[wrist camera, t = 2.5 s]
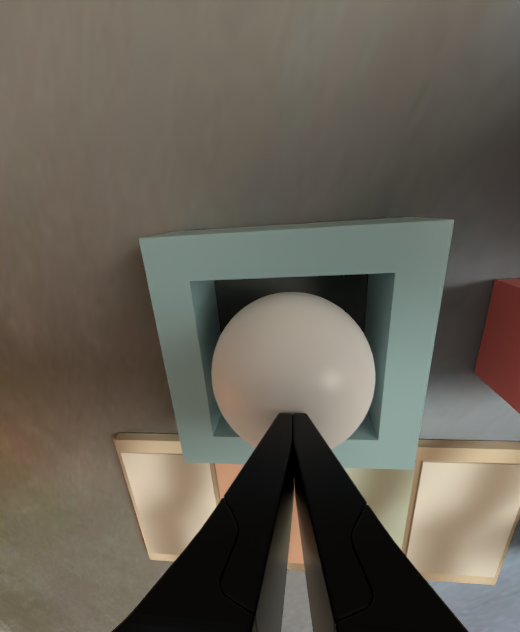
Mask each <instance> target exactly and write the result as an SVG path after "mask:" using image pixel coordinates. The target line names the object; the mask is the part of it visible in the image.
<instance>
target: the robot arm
mask: <svg viewBox="0 0 520 632" xmlns="http://www.w3.org/2000/svg"><path fill="white" fill-rule="evenodd" d="M294 487H295V499H296V507H297V515H298V522H299V530H300V537H301V545H302V552H303V560H304V567H305V574H306V582H307V589H308V597H309V604H310V612H311V619H312V626H313V632H468V630H467V629H466V628H465V627H464V626H463V624H462V623H461V622H460V621H459V620H458V618H457V617H456V616H455V615H454V614H453V612H452V611H451V610H450V609H449V608H448V606H447V605H446V604H445V603H444V601H443V600H442V599H441V598H440V597H439V595H438V594H437V593H436V592H435V591H434V589H433V588H432V587H431V586H430V585H429V583H428V582H427V581H426V580H425V579H424V577H423V576H422V575H421V574H420V573H419V571H418V570H417V569H416V568H415V566H414V565H413V564H412V563H411V561H410V560H409V559H408V558H407V556H406V555H405V554H404V553H403V551H402V550H401V549H400V548H399V546H398V545H397V544H396V543H395V541H394V540H393V539H392V537H391V536H390V534H389V533H388V532H387V530H386V529H385V528H384V526H383V525H382V523H381V522H380V521H379V519H378V518H377V516H376V515H375V513H374V512H373V510H372V509H371V507H370V506H369V505H367V502H366V500H365V499H364V497H363V496H362V494H361V493H360V491H359V490H358V488H357V487H356V485H355V484H354V482H353V481H352V480H351V478H350V477H349V475H348V474H347V472H346V471H345V469H344V468H343V466H342V465H341V463H340V462H339V460H338V459H337V457H336V456H335V454H334V453H333V451H332V450H331V449H330V447H329V446H328V444H327V443H326V441H325V440H324V438H323V437H322V435H321V434H320V432H319V431H318V429H317V428H316V426H315V425H314V423H313V422H312V420H311V419H310V418H309V416H308V415H307V414H306V413H294V414H293V415H292V413H279V414H278V415H277V416H276V418H275V419H274V421H273V422H272V424H271V425H270V427H269V428H268V430H267V431H266V433H265V434H264V436H263V437H262V439H261V440H260V442H259V444H258V445H257V447H256V448H255V450H254V451H253V453H252V454H251V456H250V457H249V459H248V460H247V462H246V463H245V465H244V466H243V468H242V469H241V471H240V472H239V474H238V475H237V477H236V478H235V480H234V481H233V483H232V484H231V486H230V487H229V489H228V490H227V492H226V493H225V495H224V498H222V499H221V500H220V502H219V503H218V505H217V506H216V508H215V509H214V511H213V512H212V514H211V515H210V517H209V518H208V519H207V521H206V522H205V524H204V525H203V526H202V528H201V529H200V530H199V532H198V533H197V534H196V535H195V537H194V538H193V539H192V540H191V542H190V543H189V544H188V545H187V547H186V548H185V549H184V550H183V552H182V553H181V554H180V555H179V556H178V558H177V559H176V560H175V561H174V562H173V564H172V565H171V566H170V567H169V568H168V570H167V571H166V572H165V573H164V574H163V576H162V577H161V578H160V579H159V580H158V582H157V583H156V584H155V585H154V586H153V588H152V589H151V590H150V591H149V592H148V594H147V595H146V596H145V597H144V598H143V600H142V601H141V602H140V603H139V604H138V606H137V607H136V608H135V609H134V610H133V611H132V612H131V613H130V614H129V616H128V617H127V618H126V619H125V620H124V621H123V622H122V623H121V624H119V625H118V626H117V627H116V628H115V629H114V630H113V631H112V632H281V626H282V615H283V605H284V595H285V585H286V574H287V564H288V554H289V543H290V533H291V523H292V513H293V502H294Z"/></svg>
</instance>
